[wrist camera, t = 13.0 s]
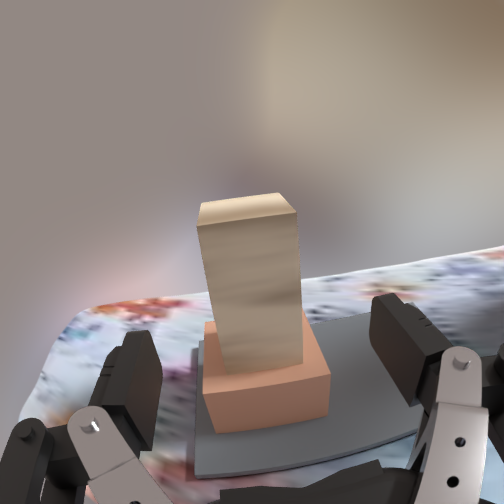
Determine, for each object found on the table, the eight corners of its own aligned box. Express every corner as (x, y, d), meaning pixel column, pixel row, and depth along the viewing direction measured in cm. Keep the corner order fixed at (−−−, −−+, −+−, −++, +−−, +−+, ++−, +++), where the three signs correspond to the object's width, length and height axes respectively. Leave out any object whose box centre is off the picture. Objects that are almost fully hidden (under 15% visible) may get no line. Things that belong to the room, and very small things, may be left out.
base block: (214, 362, 27) (204, 322, 25) (303, 349, 27) (302, 307, 26) (216, 433, 20) (202, 394, 18) (327, 415, 20) (331, 373, 18)
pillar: (224, 330, 24) (201, 203, 20) (288, 321, 24) (278, 192, 20) (226, 375, 19) (196, 226, 15) (303, 363, 20) (296, 212, 16)
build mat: (200, 345, 30) (198, 340, 30) (411, 306, 32) (412, 302, 31) (196, 478, 17) (194, 475, 16) (490, 396, 18) (492, 391, 17)
